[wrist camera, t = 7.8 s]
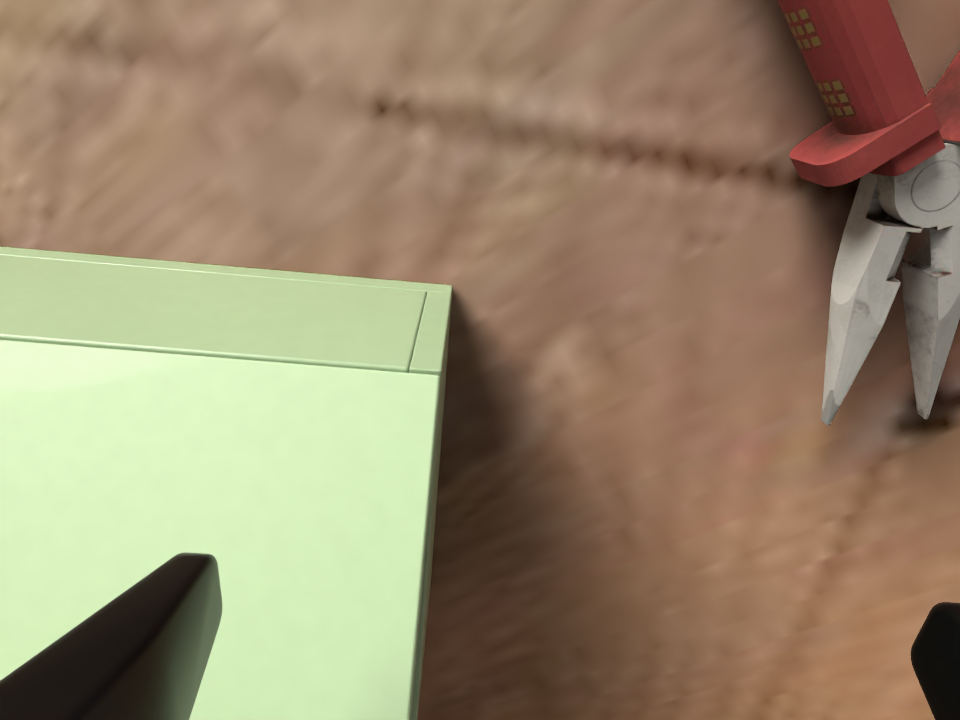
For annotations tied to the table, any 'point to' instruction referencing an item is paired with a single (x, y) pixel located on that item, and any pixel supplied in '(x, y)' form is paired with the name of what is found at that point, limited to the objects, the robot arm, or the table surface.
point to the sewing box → (234, 325)
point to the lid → (224, 515)
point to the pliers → (883, 188)
